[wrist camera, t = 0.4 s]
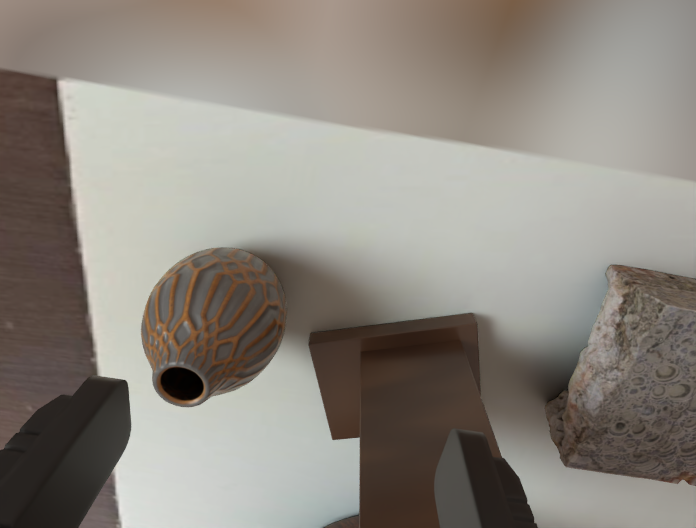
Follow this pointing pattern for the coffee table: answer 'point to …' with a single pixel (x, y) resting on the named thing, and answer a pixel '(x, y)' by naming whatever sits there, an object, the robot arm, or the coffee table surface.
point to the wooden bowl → (346, 523)
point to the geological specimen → (634, 382)
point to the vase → (212, 325)
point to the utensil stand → (401, 407)
